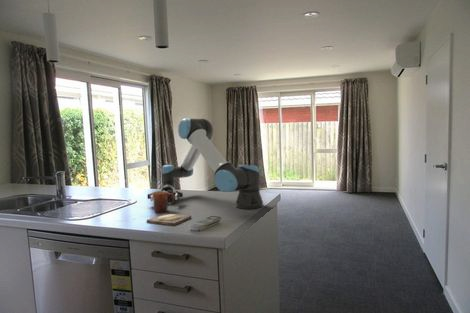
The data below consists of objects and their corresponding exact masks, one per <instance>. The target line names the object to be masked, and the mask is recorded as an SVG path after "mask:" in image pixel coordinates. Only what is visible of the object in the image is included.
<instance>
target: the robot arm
mask: <svg viewBox="0 0 470 313" xmlns="http://www.w3.org/2000/svg"><path fill="white" fill-rule="evenodd" d="M177 128H178V129H177V133H178V136H179V137H180V139H182V140H187V142H189V144H190V145H191V146H190V148H189V150H188V152H187V154H186V156H185V158H184V159H183V160H182V163H181V165H180V166H174V165H173V164H166V165H162V166H161V167H162V168H161V174H162V188H161V190H160V191H167V192H168V193H172V194H174V201H175V200H176V201H177V200H178V199H179V198H183V197H184V194H183V192H181V191H179V190H176V184H175V182H176V181H175V179H182V178H184V179H185V178H190V177H192V176H193V174H194V167H195V165H196V163H197V161H198V159H199V157H200V155H201V156H202V157H203V158H204V159H205V161H206V162H207V164H208V165H209V166H210V168H211V169H212V170H213V172H214V173H213V176H214V177H213V178H214V179H213V180H214V184H215V187H216V188H217V190H219V191H221V192H222V193H232V192H235V191H238V194H237V196H236V201H235V207H236V208H238V209H243V210H251V209H259V208H260V209H261V208H262V207H263V206H264V201H263V198H262V195H261V192H260V169H259V166H258V165H253V164H251V165H250V164H249V165H247V164H238V165H237V167H235V165H234V164H233V162H230V161H227V160H226V159H225V158H224V156H223V155H222V154H221V153H220V151H219V150H218V149H217V148H216V146H215V145H214V144H213V142H212V141H211V139H212V137H213V135H214V127H213V124H212V123H211V121H209V120H208V119H206V118H189V117H188V118H183V119H181V120H180V122H179V124H178V126H177ZM155 192H158V191H155ZM152 193H153V192H151V193H148V194H147V199H148V200H150V202H154V201H153V196H152ZM171 198H173V196H172V195H169V196H167V200H168V199H171Z"/></svg>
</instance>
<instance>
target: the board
mask: <svg viewBox="0 0 470 313" xmlns="http://www.w3.org/2000/svg"><path fill="white" fill-rule="evenodd" d="M190 219H192V215H188V214H187V215H186V214H177V213H165V212H163V213H161V214H159V215H157V216H155V217H151V218H148V219H147V220H146V223H147V222H148V223H147V224H154V223H157V224H156V225H163V224H165V225H164V226H173V227H174V226H177V225H179V224H181V223H184V222H186V221H188V220H190Z"/></svg>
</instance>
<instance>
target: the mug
mask: <svg viewBox="0 0 470 313" xmlns="http://www.w3.org/2000/svg"><path fill="white" fill-rule="evenodd" d="M151 193H152V196H153V201H152V202H153V210H154V212H155V213H165V212H167V211H168V209H169V208H168V206H170V205H172V204H173V203H174V201H175V197H174V194H172V193H168V192H167V191H161V190H159V191H157V192H156V191H153V192H151ZM169 195H172V196H173V197H172V200H171V201H170V202H168V199H167V196H169Z"/></svg>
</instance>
